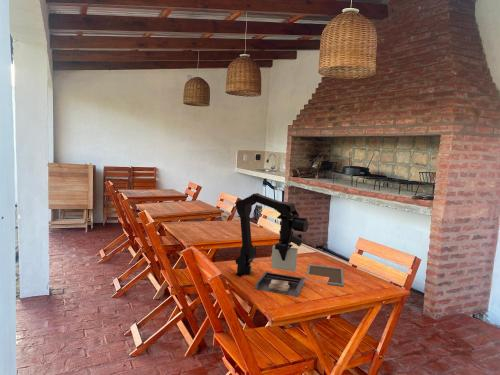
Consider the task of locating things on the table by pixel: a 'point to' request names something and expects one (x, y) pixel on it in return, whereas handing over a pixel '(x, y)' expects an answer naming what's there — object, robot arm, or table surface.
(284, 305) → the table surface
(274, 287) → the offcut bottom
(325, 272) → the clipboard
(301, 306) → the table surface
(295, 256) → the tall sheet
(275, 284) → the offcut top
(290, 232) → the robot arm
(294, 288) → the tray
